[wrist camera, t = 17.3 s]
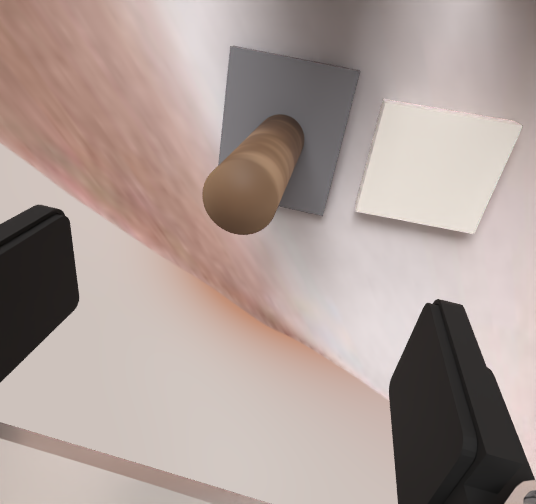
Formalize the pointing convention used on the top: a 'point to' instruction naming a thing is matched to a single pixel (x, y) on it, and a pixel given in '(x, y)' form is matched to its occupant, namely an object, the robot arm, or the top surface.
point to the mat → (291, 115)
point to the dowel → (254, 176)
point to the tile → (434, 165)
